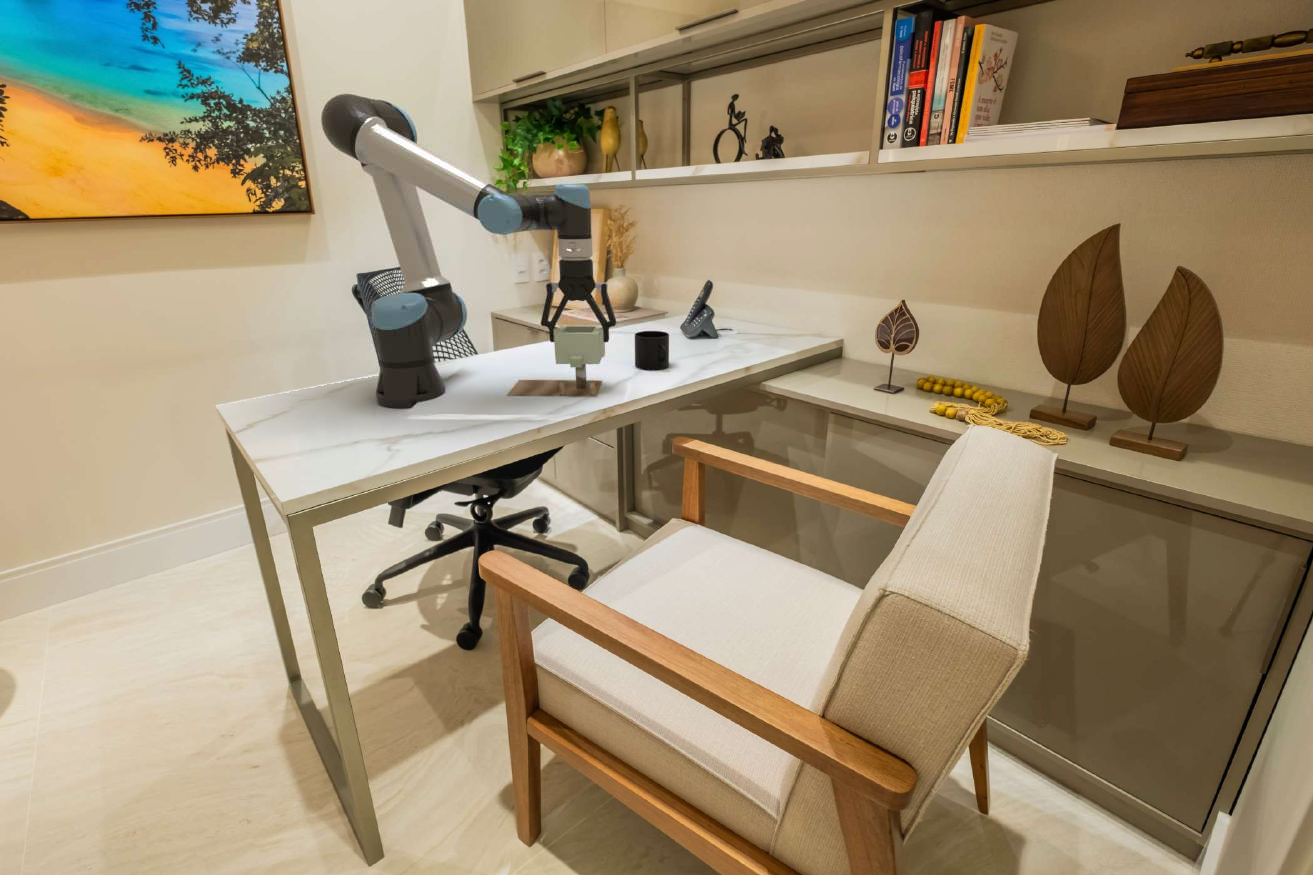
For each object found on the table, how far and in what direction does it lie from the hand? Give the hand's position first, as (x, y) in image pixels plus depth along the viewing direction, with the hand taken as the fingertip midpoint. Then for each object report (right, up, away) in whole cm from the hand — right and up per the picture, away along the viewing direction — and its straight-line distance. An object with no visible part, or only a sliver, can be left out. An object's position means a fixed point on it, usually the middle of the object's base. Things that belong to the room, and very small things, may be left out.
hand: (580, 355), depth 149 cm
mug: (+17, 0, +25) cm, 31 cm away
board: (-6, -9, +3) cm, 11 cm away
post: (0, -7, +3) cm, 8 cm away
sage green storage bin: (0, -1, -1) cm, 2 cm away
